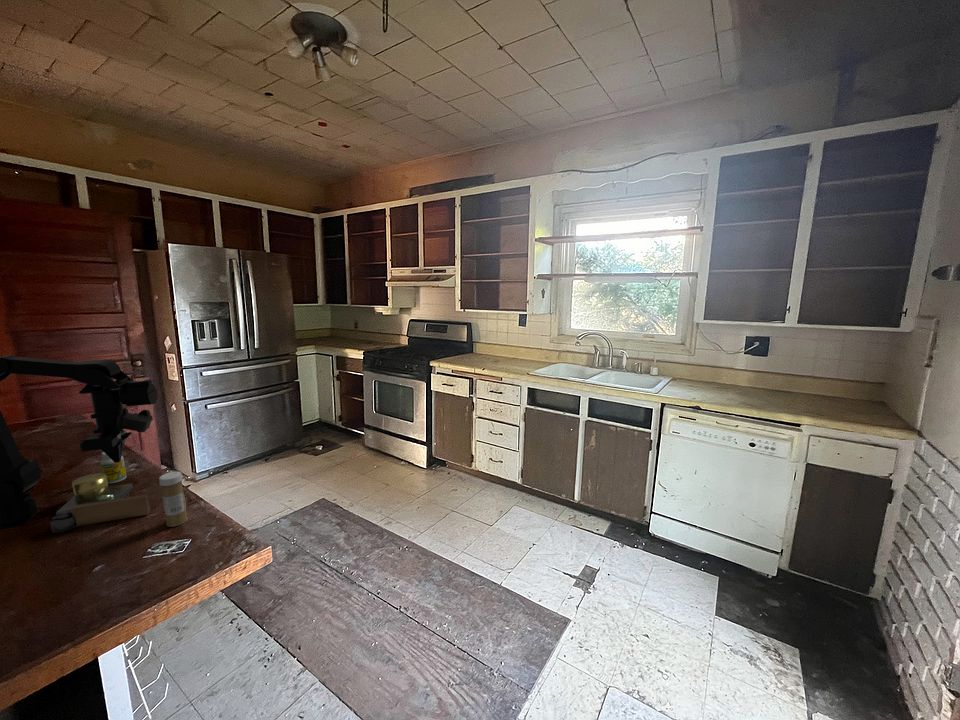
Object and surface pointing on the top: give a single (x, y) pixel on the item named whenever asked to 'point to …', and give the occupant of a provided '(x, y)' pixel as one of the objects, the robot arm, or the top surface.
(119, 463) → the supplement bottle
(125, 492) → the plate
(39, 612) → the top surface
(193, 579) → the top surface
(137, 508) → the brown bar with knob
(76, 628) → the top surface
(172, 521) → the sprinkles bottle
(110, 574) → the top surface
